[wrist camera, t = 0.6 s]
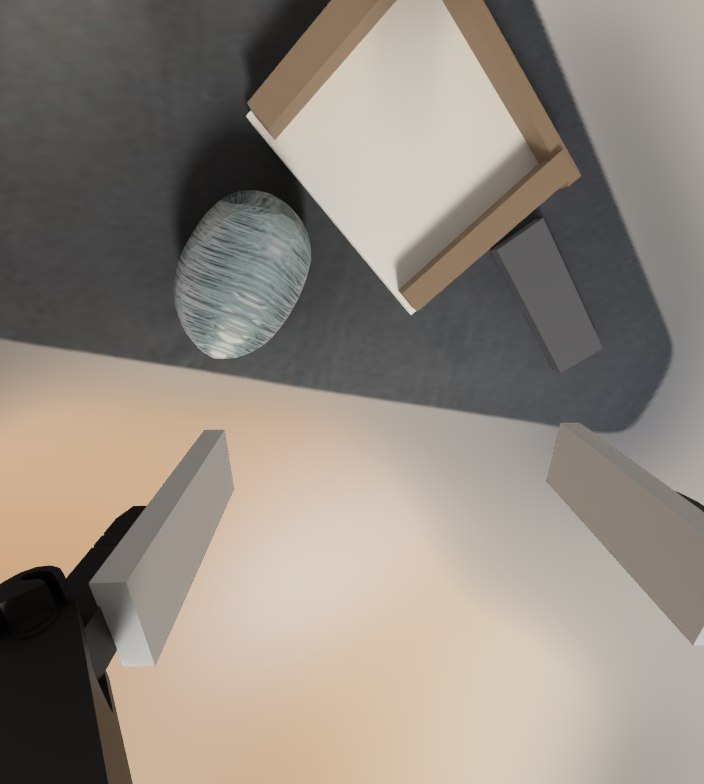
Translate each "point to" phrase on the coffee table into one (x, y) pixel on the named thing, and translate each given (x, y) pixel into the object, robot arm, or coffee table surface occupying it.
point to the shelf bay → (412, 135)
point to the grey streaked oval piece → (241, 273)
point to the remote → (547, 295)
